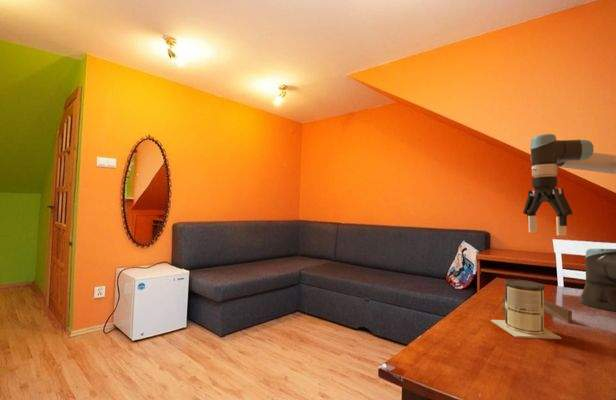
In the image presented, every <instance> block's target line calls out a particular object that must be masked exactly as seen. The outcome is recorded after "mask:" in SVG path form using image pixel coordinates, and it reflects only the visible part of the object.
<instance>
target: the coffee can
mask: <svg viewBox="0 0 616 400" xmlns="http://www.w3.org/2000/svg"><path fill="white" fill-rule="evenodd" d="M504 298H505V310H504V320H505V325H506V326H507V327H508V328H510V329H512V330H515V331H518V332H522V333H528V334H543V333H544V328H545V312H544V300H545V285H544V284H542V283H539V282H536V281H533V280H532V281H531V280H525V279H515V278H514V279H512V278H511V279H504Z"/></svg>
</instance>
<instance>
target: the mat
mask: <svg viewBox="0 0 616 400" xmlns="http://www.w3.org/2000/svg"><path fill="white" fill-rule="evenodd" d="M490 322H492V323H493V324H495V325H496V326H498V327H499V328H501V329H502V330H504V331H506V332H507V333H509V334H510V335H512V337H515V338H523V339H524V338H525V339H527V338H529V339H551V340H552V339H553V340H562V336H560V335H558V334H556V333H554V332H552V331H550V330H549V329H547V328H545V327H544V333H543V334H528V333H522V332H518V331H515V330H512V329H510V328H508V327H507V326H506V325H505V319H491V320H490Z"/></svg>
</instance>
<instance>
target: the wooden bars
mask: <svg viewBox="0 0 616 400" xmlns="http://www.w3.org/2000/svg"><path fill="white" fill-rule="evenodd" d="M501 310H504V311H505V297H504V298H503V297H502V298H501ZM544 313H546V314H547V315H551V316H552V317H554V318H557V319H559V320H561V321H563V322H565V323H568V324H572V323H573V312H572V310H571V309H567V308H565V307H563V306H560V305H558V304H556V303H553V302H551V301H548V300H546V299H544Z"/></svg>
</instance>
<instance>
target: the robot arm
mask: <svg viewBox="0 0 616 400" xmlns="http://www.w3.org/2000/svg"><path fill="white" fill-rule="evenodd" d="M529 149H530V163H531V177H532V178H531V186H532V188H533V189H534V190H528V193H527V197H526V199H527V200H526V202H525V205H524V208H523V211H522V213H523V214H524V215H526V216H527V224H528V233H531V234H532V233H534V234H535V233H538V225H537V223H538V221H537V215H536V213H537V211H538V210H539V208H540V206H541V205H542V203H544V202H547V203H548V204H549V205H550V207H551V208H552V209H553V210H554V212H555V214H556V217H555V219H556V220H555V222H556V223H555V224H556V225H555V227H556V236H567V226H568V216H571V215H573V211H572V209H571V206H570V203H569V202H568V199H567V198H566V196H565V192H564V191H565V190H564V189H563V188H562V187H561V188H556V187H558V185H559V184H558V177H557V175H558V168H563V169H572V170H580V171H588V172H596V173H603V174H610V175H611V174H612V175H616V154H608V153H601V152H594V144H593V142H592V141H591V140H588V139H564V140H559V139H557V136H556V135H555V134H554V133H553V134H552V133H546V134H538V135H535V136H533V137H532V138H531V139H530V147H529ZM584 260H585V261H584V262H585V285H584V287H583V290H582V292H581V295H580V297H579V299H580V300H579V301H580V302H581V304H584V305H586V306H589V307H592V308H596V309H600V310H606V311H614V312H616V248H588V249H587V250H586V251H585V257H584Z"/></svg>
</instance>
